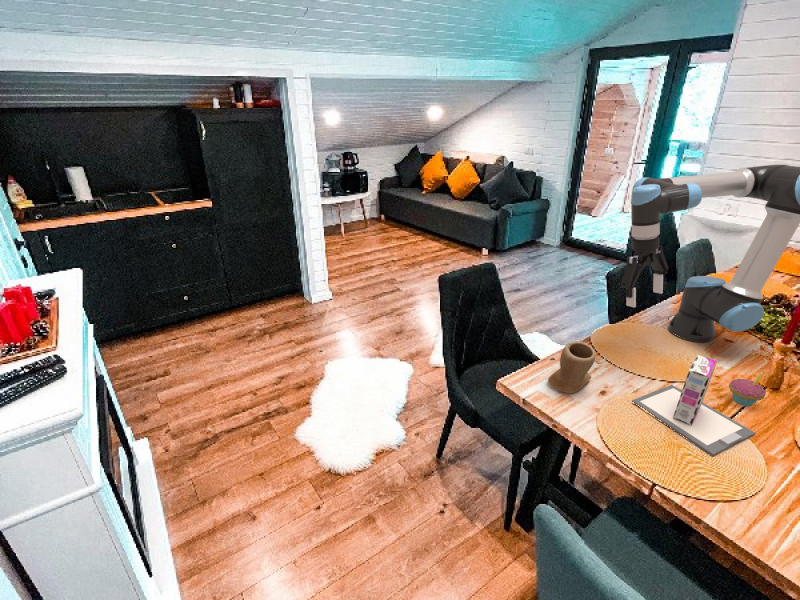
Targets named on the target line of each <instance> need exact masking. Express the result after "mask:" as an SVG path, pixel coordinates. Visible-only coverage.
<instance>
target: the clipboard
mask: <svg viewBox="0 0 800 600" xmlns="http://www.w3.org/2000/svg"><path fill="white" fill-rule="evenodd" d="M682 390H683V389H680V388H678V387H677V386H674V385H673V384H671V385H668V386H665V387H663V388H660V389H658V390H655V391H652V392H650V393H648V394H647V393H646V394H644V395H642V396H639V397H637V398H635V399H632V400H631V401H632V402H634V403H635V404H637V405H639V406H640V407H642V408H644V409H645V410H647V411H648V412H649V413H651V414H652V415H654V416H655V417H656V418H657V419H659V420H661V421H662V422H663V423H665V424H666V425H668V426H669V427H671V428H672V429H673V430H675V431H676V432H678V433H679V434H681V435H682V436H684V437H685V438H687V439H688V440H689V441H688V440H687V439H686V440H687V441H688V442H690V441H691V442H692V443H691V442H690V443H691V444H693V443H694V444H695V445H694V444H693V445H694V446H696V447H697V446H698V447H697V448H698V449H700V448H701V449H700V450H702V451H703V450H704V451H703V452H705V451H706V452H707V453H706V452H705V453H706V454H707V455H710V456H711V457H715V456H716V454H717V455H719V454H720V452H721V453H723V452H724V451H726V450H728V449H730V448H732V447H734V446H737V445H738V444H740V443H742V442H745V441H746V440H748V439H750V438H752V437H754V436H755V435H756V432H754V431H753V430H751V429H749V428H748V427H746V426H744V425H742V424H741V423H740V422H738V421H735V420H734V419H732V418H731V417H728V416H727V415H726V414H723V412H720V411H719V410H717V409H715V408H713V407H711V406H710V405H708V404H706V403H704V402H703V401H702V404H701V407H700V409H699V411H698V413H697V416H696V418H695V420H694V422H693V424H692V425H689V424H686V423H684V422H681V421H679V420H677V419H674V418H673V416H674V413H675V410H676V407H677V404H678V402H679V399H680V396H681V393H682ZM657 419H656V420H657ZM663 423H662V424H663ZM666 425H665V426H666ZM669 427H668V428H669ZM672 429H671V430H672ZM673 430H672V431H673ZM675 431H674V432H675ZM676 432H675V433H676ZM678 433H677V434H678ZM679 434H678V435H679ZM681 435H680V436H681ZM682 436H681V437H682ZM684 437H683V438H684ZM685 438H684V439H685ZM718 453H719V454H718ZM714 455H715V456H714Z"/></svg>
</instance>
